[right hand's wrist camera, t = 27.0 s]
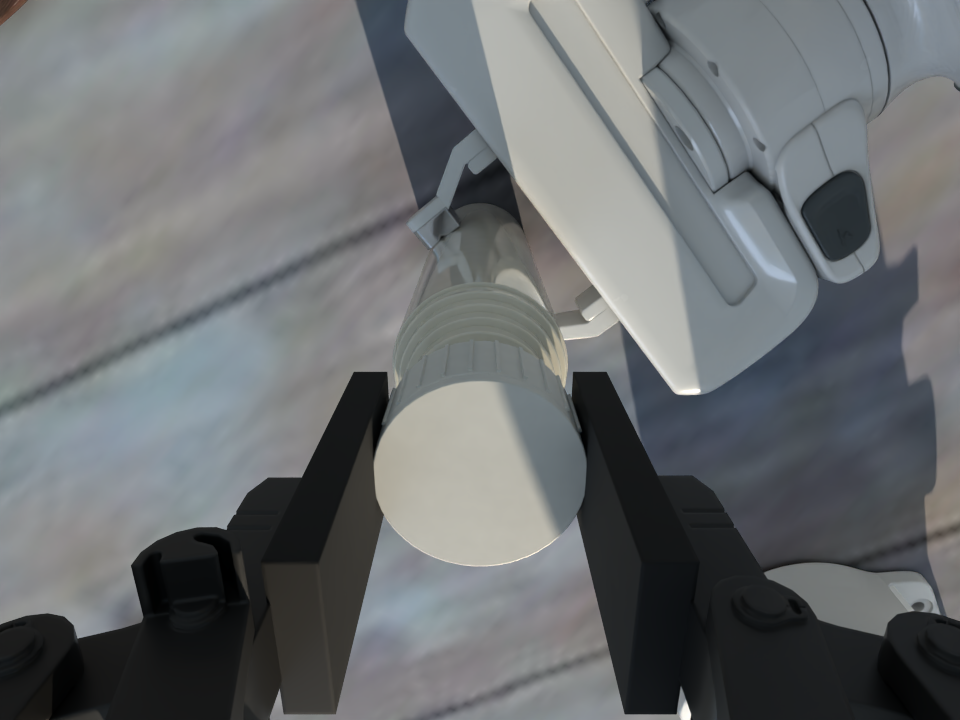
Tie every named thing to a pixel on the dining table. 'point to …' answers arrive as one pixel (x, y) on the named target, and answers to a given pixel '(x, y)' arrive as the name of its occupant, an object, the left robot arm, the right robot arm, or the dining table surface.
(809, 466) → the dining table surface
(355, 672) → the dining table surface
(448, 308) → the bottle
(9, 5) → the fork
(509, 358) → the cap
